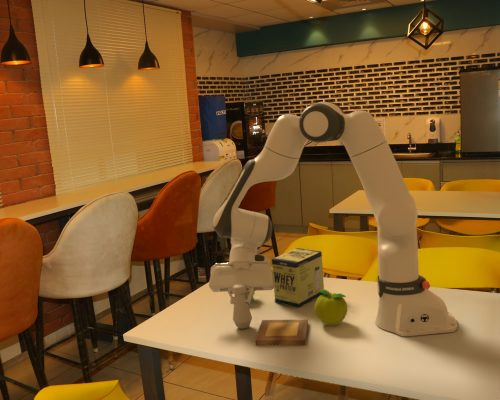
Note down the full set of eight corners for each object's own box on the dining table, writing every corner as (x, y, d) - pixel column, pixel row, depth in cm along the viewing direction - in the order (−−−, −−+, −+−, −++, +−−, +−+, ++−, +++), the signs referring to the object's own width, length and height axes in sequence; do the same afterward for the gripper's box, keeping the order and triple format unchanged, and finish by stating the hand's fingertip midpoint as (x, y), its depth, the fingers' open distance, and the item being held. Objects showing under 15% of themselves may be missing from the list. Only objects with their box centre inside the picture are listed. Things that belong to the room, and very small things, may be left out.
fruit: (328, 315, 161) (326, 284, 159) (353, 322, 154) (351, 290, 152) (309, 325, 154) (307, 293, 153) (335, 333, 148) (333, 300, 146)
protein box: (274, 302, 175) (270, 258, 172) (300, 288, 187) (297, 247, 184) (299, 308, 168) (295, 262, 166) (325, 293, 180) (322, 250, 177)
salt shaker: (242, 320, 161) (238, 280, 159) (256, 324, 157) (252, 283, 155) (229, 327, 156) (225, 286, 154) (244, 331, 153) (239, 289, 151)
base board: (308, 324, 155) (307, 318, 155) (305, 345, 142) (305, 339, 141) (262, 324, 158) (262, 319, 158) (255, 345, 144) (255, 339, 144)
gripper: (208, 259, 162) (204, 299, 154) (272, 256, 158) (271, 298, 151) (213, 268, 167) (209, 308, 159) (275, 265, 163) (274, 306, 156)
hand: (240, 303), depth 155 cm, fingers closed on salt shaker, 3 cm apart
